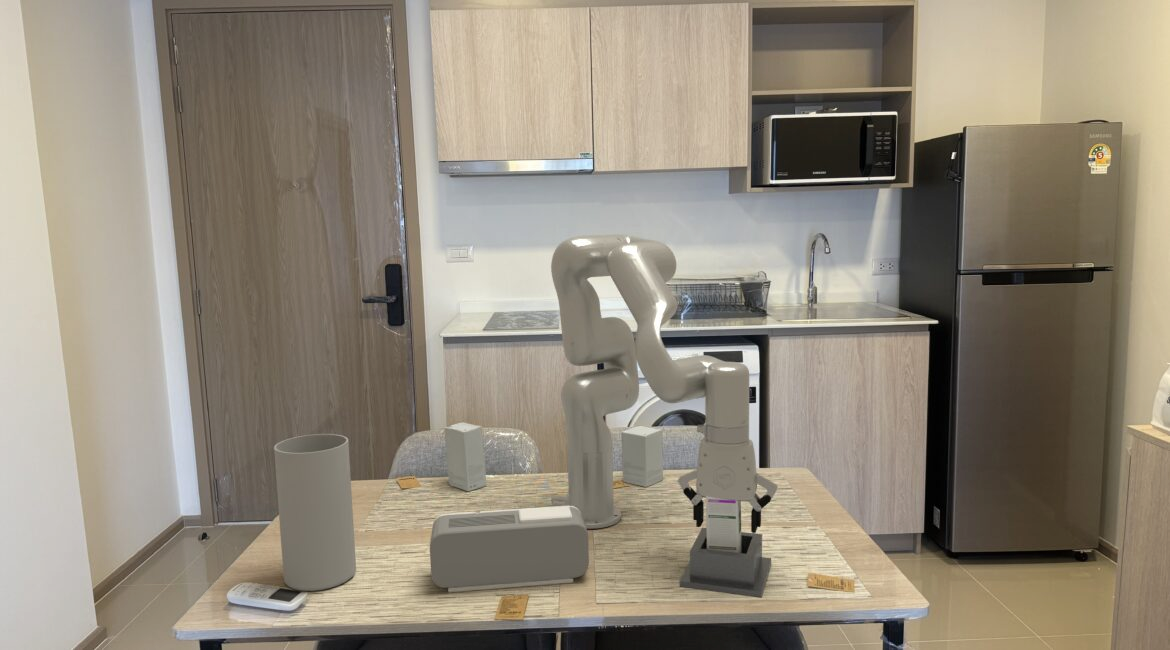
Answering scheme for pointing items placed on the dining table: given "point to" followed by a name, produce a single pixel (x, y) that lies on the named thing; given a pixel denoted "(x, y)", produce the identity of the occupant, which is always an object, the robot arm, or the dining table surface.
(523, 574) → the grey rounded block
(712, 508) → the syrup box
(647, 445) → the supplement box
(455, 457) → the skincare box
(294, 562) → the cylinder vase
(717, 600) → the dining table surface
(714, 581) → the socket
